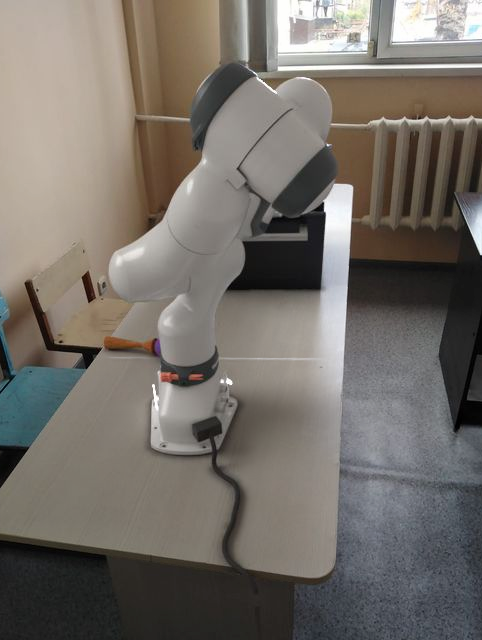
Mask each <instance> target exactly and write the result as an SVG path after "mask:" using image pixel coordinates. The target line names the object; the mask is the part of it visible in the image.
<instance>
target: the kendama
mask: <svg viewBox="0 0 482 640" xmlns="http://www.w3.org/2000/svg"><path fill="white" fill-rule="evenodd" d="M103 347H104V348H105V349H106V350H118V349H119V350H120V349H144V350H145V351H147V352H149V353H150V354H152V355H154V356H155V355H157V357H158V358H160V351H161V347H160V340H159V338H157V337H154V338H152V339H150V340H147V341H145V342H139V341H135V340H129V339H124V338H119V337H114V336H110V335H106V337H104V340H103Z"/></svg>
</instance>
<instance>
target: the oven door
mask: <svg viewBox="0 0 482 640" xmlns="http://www.w3.org/2000/svg"><path fill="white" fill-rule="evenodd" d="M326 219H327V212H326V211H324V212H307V213H305V214H302V215H300V216H299V217H295V218H288V217H286V216H284V215H283V214H282V217H273V218H272V219H271V221H270V222H269V225H268V227H267V229H266V231H265V233H264V234H262V235H260V236H256V237H252V238H248V237H245V236H242V235H240V234H238V236H239V237H240V239H241V241H242V243H243V246H244V249H245V263H244V266H243V269H242V271H241V273H240V274H239V275H238V276H237V277H236V278H235V279H234V280H233V281H232V282H231V283H230V285H229V286H228V287H227V289H226V290H225V291H307V290H308V291H309V290H310V291H312V290H313V291H316V290H317V291H318V290H319V291H320V290H322V278H323V267H324V266H323V264H324V249H325V236H326V235H325V234H326V224H327V223H326Z"/></svg>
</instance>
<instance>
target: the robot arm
mask: <svg viewBox="0 0 482 640" xmlns="http://www.w3.org/2000/svg"><path fill="white" fill-rule="evenodd" d="M332 120H333V104H332V100H331V97H330V95H329V93H328V92H327V90H326V89H325V87H324V86H322V84H320V83H319V82H318V81H315V80H314V79H311V78H307V77H301V76H300V77H294V78H290V79H288V80H285V81H284V82H282V83H281V84H280V85H278V86H277V88H275V89H274V90H273V89H272V88H271V86H268V85H267V84H266V83H265V82H263V80H261V79H259V78H258V74H257V72H255V71H253V70H252V69H250V68H249V67H248V66H246V65H243V64H241V63H240V62H236V61H231V62H227V63H223V64H221V65H220V66H218V67H217V68H216V69H215V70H214V71H212V72H211V73H209V75H207V76H206V77H205V79H204V80H203V81H202V82H201V83H200V85H199V86H198V88H197V90H196V93H195V95H194V96H193V98H192V100H191V104H190V109H189V127H190V132H191V135H192V138H191V139H190V147H191V150H192V151H193V152H198V151H200V154H201V159H200V161H199V163H198V164H197V165H196V166H195V168H193V169H192V171H191V172H189V173H188V175H187V176H186V177H185V178H184V179H183V180H182V181H181V183H180V184H179V186H178V187H177V189H176V190H175V191H174V193H173V195H172V197H171V200H170V202H169V205H168V207H167V209H166V211H165V214H164V216H163V218H162V220H161V221H160V222H159V223H157V224H156V225H155V226H153V228H151V229H150V230H149V231H147V232H146V233H145V234H143V235H142V236H141V237H139V238H138V239H137V240H136V239H135V241H133V242H131V243H129V244H127V245H125V246H123V247H122V248H119V249H117V250H116V251H115V250H114V252H113V254H112V256H111V258H110V260H109V264H108V279H109V284H110V285H111V287H112V289H113V291H114V292H115V293H116V295H117V296H118V297H119V298H120V299H122V300H123V301H125V302H126V303H128V304H130V303H150V302H151V303H152V302H158V301H161V300H165V299H166V300H167V299H169V298H173V297H175V299H174V300H173V301H172V302H171V303H169V304H168V305H167V306H166V307H165V308H164V309H163V310H162V311H161V313H160V315H159V318H158V320H157V333H158V339H159V340H160V347H161V351H160V357H159V367H160V368H159V370H158V371H157V378H158V394H156V388H155V384H152V388H153V397H154V398H153V399H152V400H151V413H150V415H151V416H150V419H151V420H150V447H151V448H152V450H155V451H157V452H159V453H162V454H167V455H173V456H174V455H175V456H198V455H199V456H200V455H205V454H209V453H211V466H212V469H213V471H214V473H215V474H216V475H217V476H218V477H220V478H221V479H223V480H225V481H226V482H227V483H230V485H231V486H232V487H233V489H234V496H235V497H234V503H233V507H232V512H231V516H230V521H229V522H228V523H229V524H228V526H227V528H226V530H225V532H224V535H223V538H222V542H221V551H222V555H223V558H224V560H225V561H226V562H227V564H228V565H229V566H230V567H232V568H233V569H234V570H235V571H237V572H238V573H239V574H240V575H241V576H242V577H243V578H244V579H245V580H246V581H247V583H248V584H249V586H250V589H251V591H252V593H253V595H258V594H259V592H260V591H259V588H258V586H257V584H256V582H255V579H254V578H253V577H252V575H251V574H250V572H249V571H248V570H247V569H245V568H244V567H243V566H242V565H240V564H238V562H236V561H235V560H234V559H233V558H232V557H231V555H230V552H229V548H228V546H229V545H228V544H229V540H230V537H231V534H232V532H233V529H234V527H235V525H236V522H237V516H238V511H239V508H240V503H241V491H240V487H239V485H238V483H237V482H236V480H234V479H233V478H232V477H230V476H228V475H227V474H225V473H224V472H222V470H220V468H219V466H218V464H217V458H218V450H219V449H220V448H221V447H222V444H223V442H224V439H225V436H226V435H227V432H228V430H229V427H230V425H231V423H232V420H233V418H234V415H235V413H236V410H237V409H238V404H239V403H238V400H237V399H236V398H234V397H232V396H230V389H229V385H233V381H232V380H231V379H229V378H228V374H227V372H226V370H224V369H223V368H222V367H221V366H220V365H219V364H220V361H219V360H220V355H219V350H218V347H217V345H216V338H215V336H216V335H215V333H216V332H215V323H216V322H215V321H216V314H217V310H218V307H219V304H220V302H221V299H222V297H223V296H224V294H225V292H226V291H227V290H226V289H227V287H228V286H229V285H230V283H231V282H232V281H233V280H234V279H235V278H236V277H237V276H238V275H239V274H240V273H241V271H242V269H243V266H244V263H245V249H244V246H243V243H242V241H241V239H240V237H239V236H238V234H240V235H242V236H245V237H248V238H252V237H256V236H260V235H262V234H264V233H265V231H266V229H267V227H268V225H269V222H270V221H271V219H272V218H273V217H282V214H283V215H284V216H286V217H288V218H295V217H299V216H300V215H302V214H305V213H307V212H310V211H312V210H313V209H315V208H316V207H318V206H319V205H320V204H321V203H322V202H323V201H326V199H327V198H328V196H329V195H330V193H331V192H332V189H333V187H334V186H335V182H336V179H337V177H338V176H339V164H338V163H339V162H338V160H337V158H336V155H335V154H334V152H333V149H334V147H333V144H332V143H330V144H328V143H327V142H326V141H327V139H328V136H329V133H330V130H331V124H332ZM253 612H254V624H255V634H256V635H255V636H256V640H263V639H264V638H263V629H262V627H263V626H262V619H261V617H262V616H261V606H254V611H253Z"/></svg>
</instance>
